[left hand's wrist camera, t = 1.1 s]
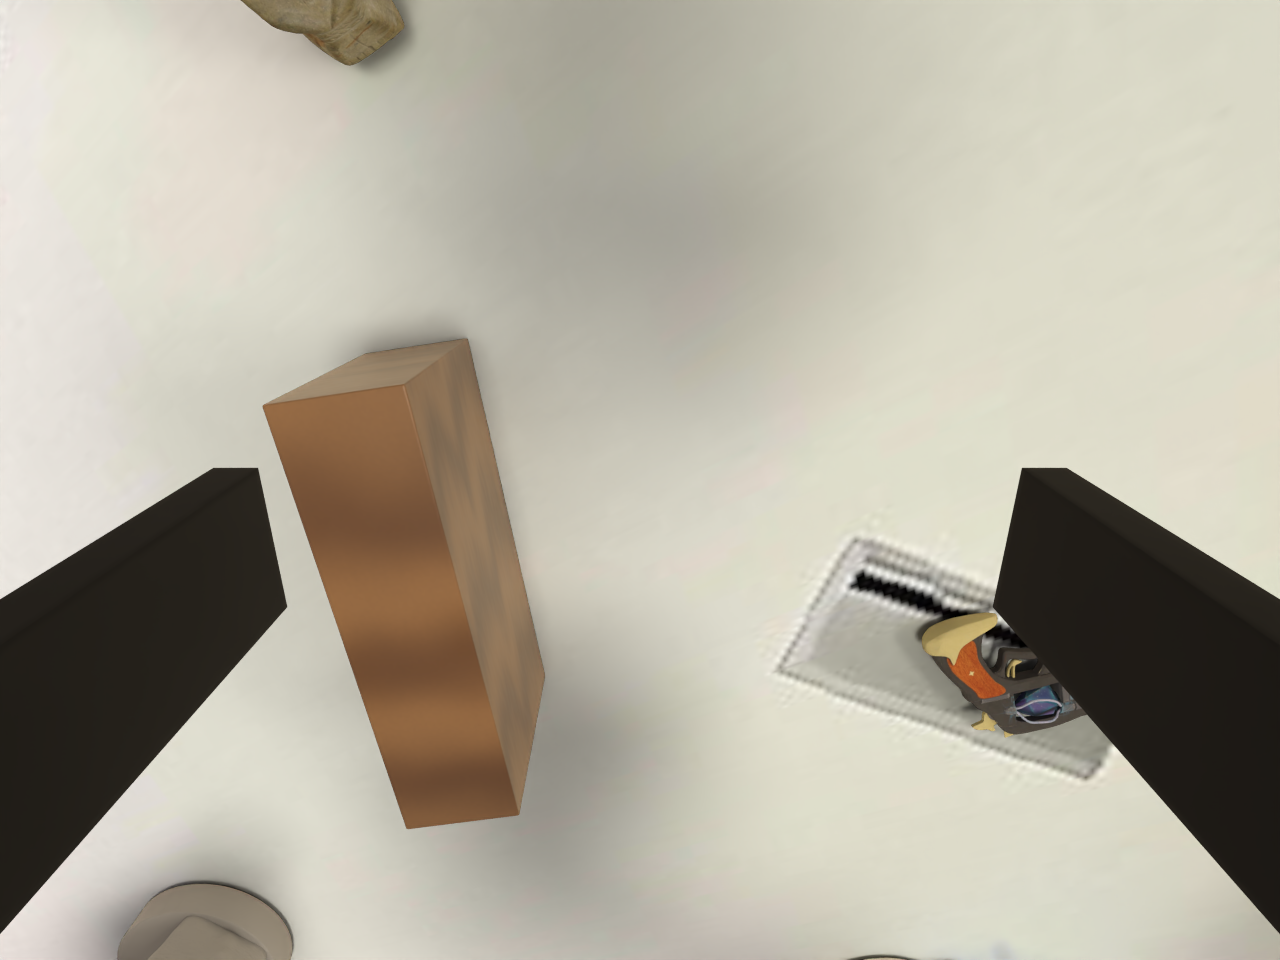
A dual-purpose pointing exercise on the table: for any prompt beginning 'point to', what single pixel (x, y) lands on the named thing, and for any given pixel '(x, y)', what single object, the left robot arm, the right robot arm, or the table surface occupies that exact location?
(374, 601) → the box
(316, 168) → the table surface
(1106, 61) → the table surface
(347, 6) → the sculpture
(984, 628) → the toy gun
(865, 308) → the table surface
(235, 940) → the bust sculpture
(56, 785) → the left robot arm
